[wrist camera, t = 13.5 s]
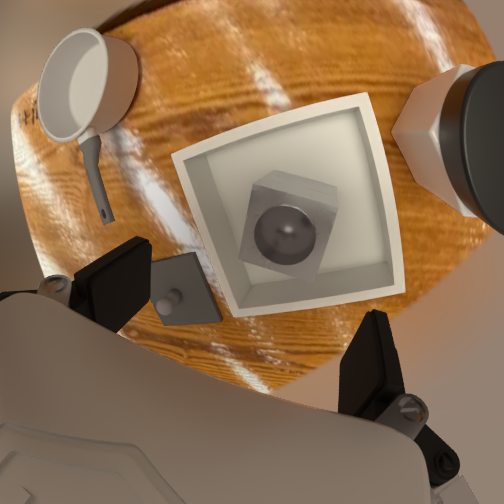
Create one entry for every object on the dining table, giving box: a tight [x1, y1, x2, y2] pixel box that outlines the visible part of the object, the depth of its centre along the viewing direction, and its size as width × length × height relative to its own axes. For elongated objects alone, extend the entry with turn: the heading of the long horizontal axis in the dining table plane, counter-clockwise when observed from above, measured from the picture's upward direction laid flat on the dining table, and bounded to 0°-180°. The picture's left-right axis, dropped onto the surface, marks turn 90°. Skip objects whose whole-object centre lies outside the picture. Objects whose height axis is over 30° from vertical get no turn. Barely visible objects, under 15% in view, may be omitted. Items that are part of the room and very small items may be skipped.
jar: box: [391, 61, 504, 235], centre depth 12 cm, size 9×8×12 cm
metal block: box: [238, 170, 339, 283], centre depth 19 cm, size 5×5×7 cm
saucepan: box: [37, 28, 138, 225], centre depth 21 cm, size 12×20×6 cm, turn 19°
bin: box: [171, 92, 405, 318], centre depth 21 cm, size 14×14×4 cm
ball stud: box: [150, 252, 223, 326], centre depth 28 cm, size 8×8×4 cm
